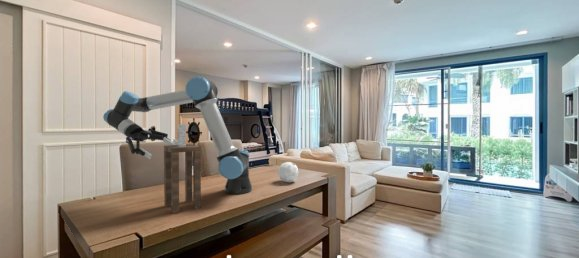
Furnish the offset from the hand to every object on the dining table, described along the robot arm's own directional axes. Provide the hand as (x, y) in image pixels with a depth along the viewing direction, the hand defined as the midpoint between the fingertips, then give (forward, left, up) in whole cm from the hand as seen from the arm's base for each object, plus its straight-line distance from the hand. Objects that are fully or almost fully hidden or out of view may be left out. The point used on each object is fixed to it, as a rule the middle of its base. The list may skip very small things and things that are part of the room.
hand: (162, 151), depth 123 cm
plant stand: (-14, +6, -25) cm, 29 cm away
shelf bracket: (-10, +1, +3) cm, 10 cm away
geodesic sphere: (-55, -49, -25) cm, 78 cm away
